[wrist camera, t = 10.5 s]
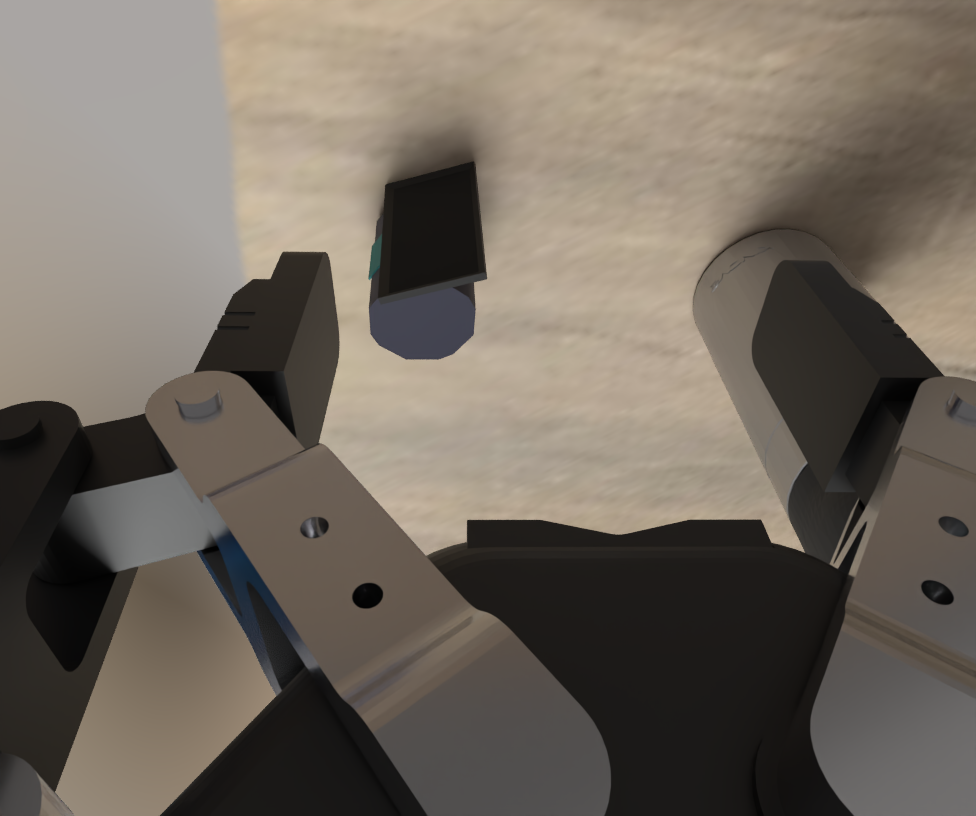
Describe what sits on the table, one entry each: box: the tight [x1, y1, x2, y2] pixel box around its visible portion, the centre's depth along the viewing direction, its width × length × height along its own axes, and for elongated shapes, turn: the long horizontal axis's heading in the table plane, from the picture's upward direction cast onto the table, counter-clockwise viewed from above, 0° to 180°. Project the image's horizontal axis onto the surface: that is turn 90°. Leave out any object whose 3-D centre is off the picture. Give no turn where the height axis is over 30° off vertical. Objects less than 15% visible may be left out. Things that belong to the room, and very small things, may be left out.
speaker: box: [369, 162, 487, 359], centre depth 38 cm, size 8×6×10 cm
